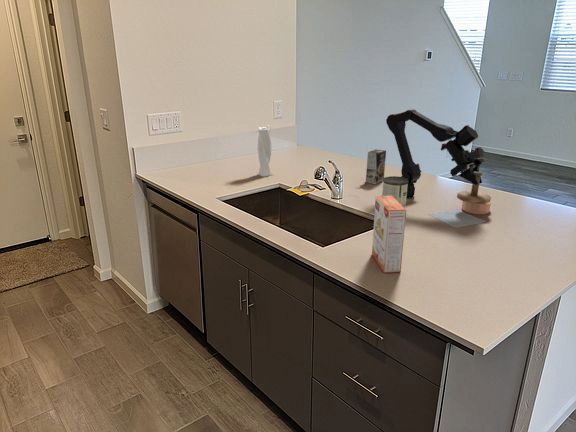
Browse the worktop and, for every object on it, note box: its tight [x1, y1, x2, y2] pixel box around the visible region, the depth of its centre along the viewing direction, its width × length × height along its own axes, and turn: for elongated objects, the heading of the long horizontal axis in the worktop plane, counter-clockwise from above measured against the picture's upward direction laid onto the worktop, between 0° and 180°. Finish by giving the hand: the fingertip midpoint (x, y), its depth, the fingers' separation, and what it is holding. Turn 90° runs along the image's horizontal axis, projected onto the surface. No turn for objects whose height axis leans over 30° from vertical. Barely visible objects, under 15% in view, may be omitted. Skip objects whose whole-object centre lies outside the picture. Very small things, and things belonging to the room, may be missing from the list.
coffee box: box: [365, 149, 387, 185], centre depth 233 cm, size 9×6×16 cm
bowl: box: [461, 200, 492, 215], centre depth 193 cm, size 11×11×4 cm
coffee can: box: [381, 175, 408, 209], centre depth 190 cm, size 10×10×14 cm
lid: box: [456, 171, 492, 204], centre depth 186 cm, size 13×13×11 cm
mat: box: [428, 209, 487, 229], centre depth 184 cm, size 16×16×1 cm
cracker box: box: [371, 195, 407, 274], centre depth 142 cm, size 14×6×21 cm, turn 5°
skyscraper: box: [256, 124, 274, 178], centre depth 242 cm, size 8×8×28 cm
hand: (479, 183), depth 184 cm, fingers closed on lid, 3 cm apart
